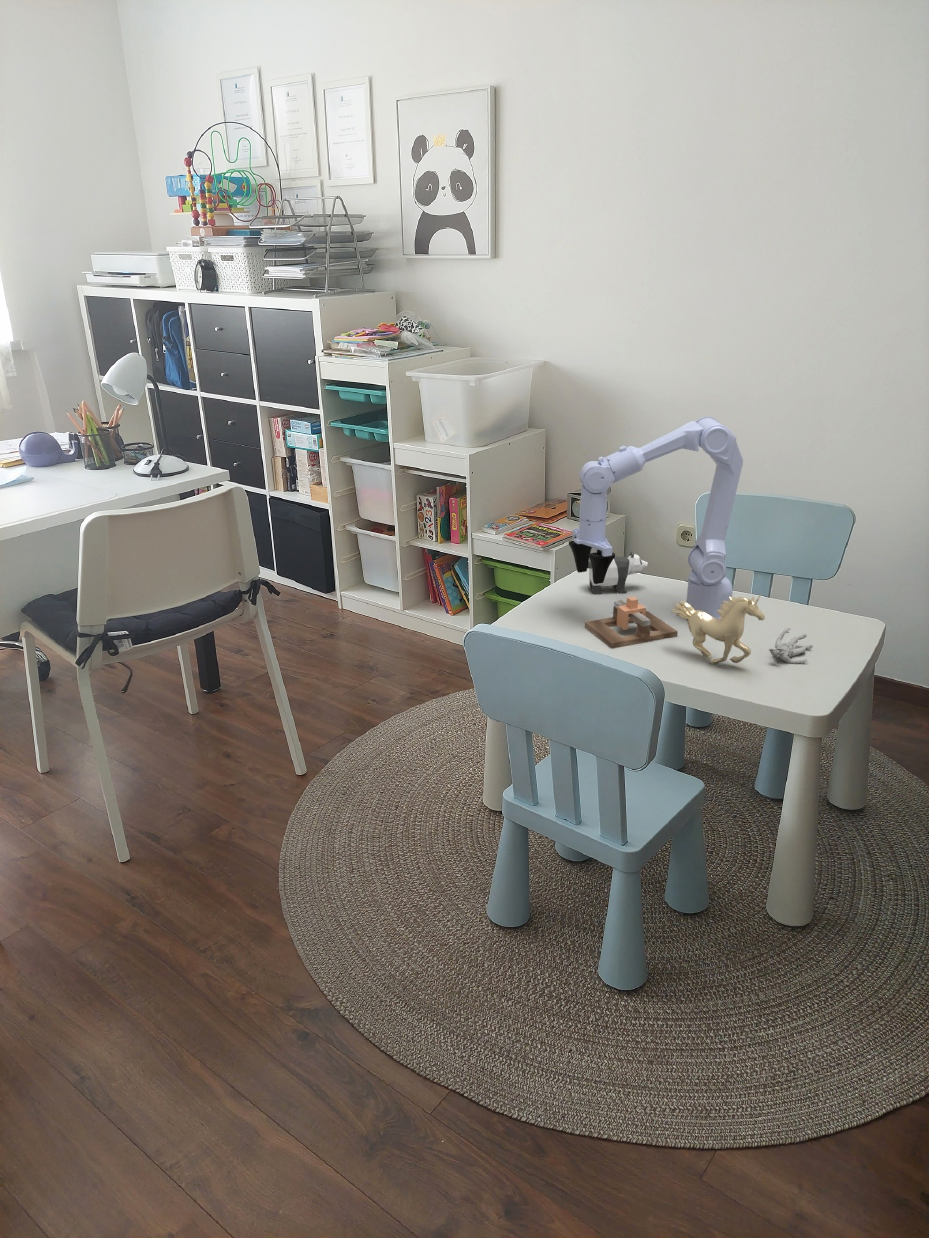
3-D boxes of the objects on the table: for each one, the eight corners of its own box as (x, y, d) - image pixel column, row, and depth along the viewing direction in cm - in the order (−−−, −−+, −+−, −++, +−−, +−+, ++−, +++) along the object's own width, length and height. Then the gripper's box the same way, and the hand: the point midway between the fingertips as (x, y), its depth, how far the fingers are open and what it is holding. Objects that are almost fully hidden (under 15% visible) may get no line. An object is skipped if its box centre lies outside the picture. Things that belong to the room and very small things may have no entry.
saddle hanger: (637, 620, 196) (639, 594, 193) (644, 626, 193) (646, 599, 191) (616, 624, 194) (618, 597, 192) (623, 629, 192) (625, 602, 189)
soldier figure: (820, 659, 183) (801, 661, 174) (800, 669, 186) (779, 672, 177) (802, 626, 186) (781, 626, 176) (781, 637, 188) (760, 638, 179)
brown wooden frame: (647, 616, 202) (649, 595, 200) (677, 636, 192) (679, 614, 190) (584, 627, 197) (585, 606, 195) (611, 648, 187) (613, 626, 185)
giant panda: (588, 595, 214) (590, 557, 210) (584, 586, 219) (586, 550, 215) (648, 593, 215) (651, 555, 211) (643, 584, 220) (645, 548, 216)
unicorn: (662, 650, 186) (669, 573, 179) (672, 644, 188) (679, 567, 181) (751, 679, 173) (762, 598, 166) (761, 672, 175) (772, 592, 169)
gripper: (561, 511, 197) (559, 569, 202) (592, 529, 184) (589, 590, 190) (589, 507, 199) (586, 565, 205) (622, 525, 187) (618, 586, 192)
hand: (590, 577), depth 197 cm, fingers open, 7 cm apart
